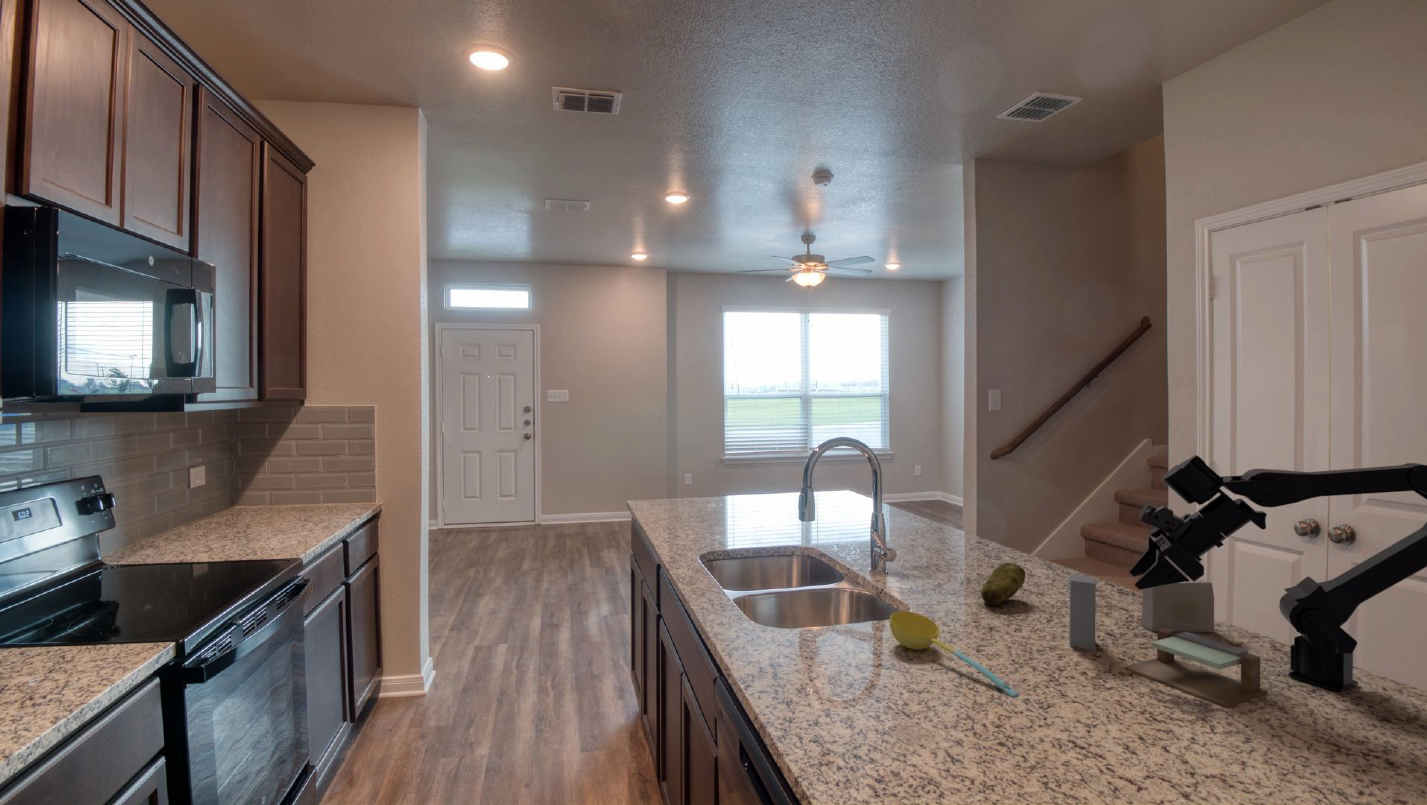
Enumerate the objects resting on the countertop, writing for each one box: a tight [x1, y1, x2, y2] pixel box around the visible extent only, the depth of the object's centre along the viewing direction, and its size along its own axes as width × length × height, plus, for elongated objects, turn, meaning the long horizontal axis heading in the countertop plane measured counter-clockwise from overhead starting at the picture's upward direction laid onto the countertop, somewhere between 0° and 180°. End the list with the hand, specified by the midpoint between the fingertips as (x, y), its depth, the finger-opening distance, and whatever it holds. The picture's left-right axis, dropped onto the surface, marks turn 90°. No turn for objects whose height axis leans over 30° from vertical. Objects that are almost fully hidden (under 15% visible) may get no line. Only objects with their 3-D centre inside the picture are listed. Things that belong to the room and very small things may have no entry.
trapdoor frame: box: [1124, 628, 1268, 709], centre depth 105 cm, size 15×11×6 cm
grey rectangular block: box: [1068, 573, 1097, 651], centre depth 121 cm, size 4×5×12 cm
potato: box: [980, 562, 1026, 606], centre depth 145 cm, size 8×13×8 cm, turn 112°
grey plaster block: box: [1140, 579, 1215, 633], centre depth 128 cm, size 12×4×10 cm, turn 89°
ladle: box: [889, 610, 1019, 698], centre depth 112 cm, size 9×26×6 cm, turn 26°
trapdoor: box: [1151, 632, 1249, 670], centre depth 106 cm, size 10×9×2 cm
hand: (1133, 580), depth 117 cm, fingers open, 9 cm apart
